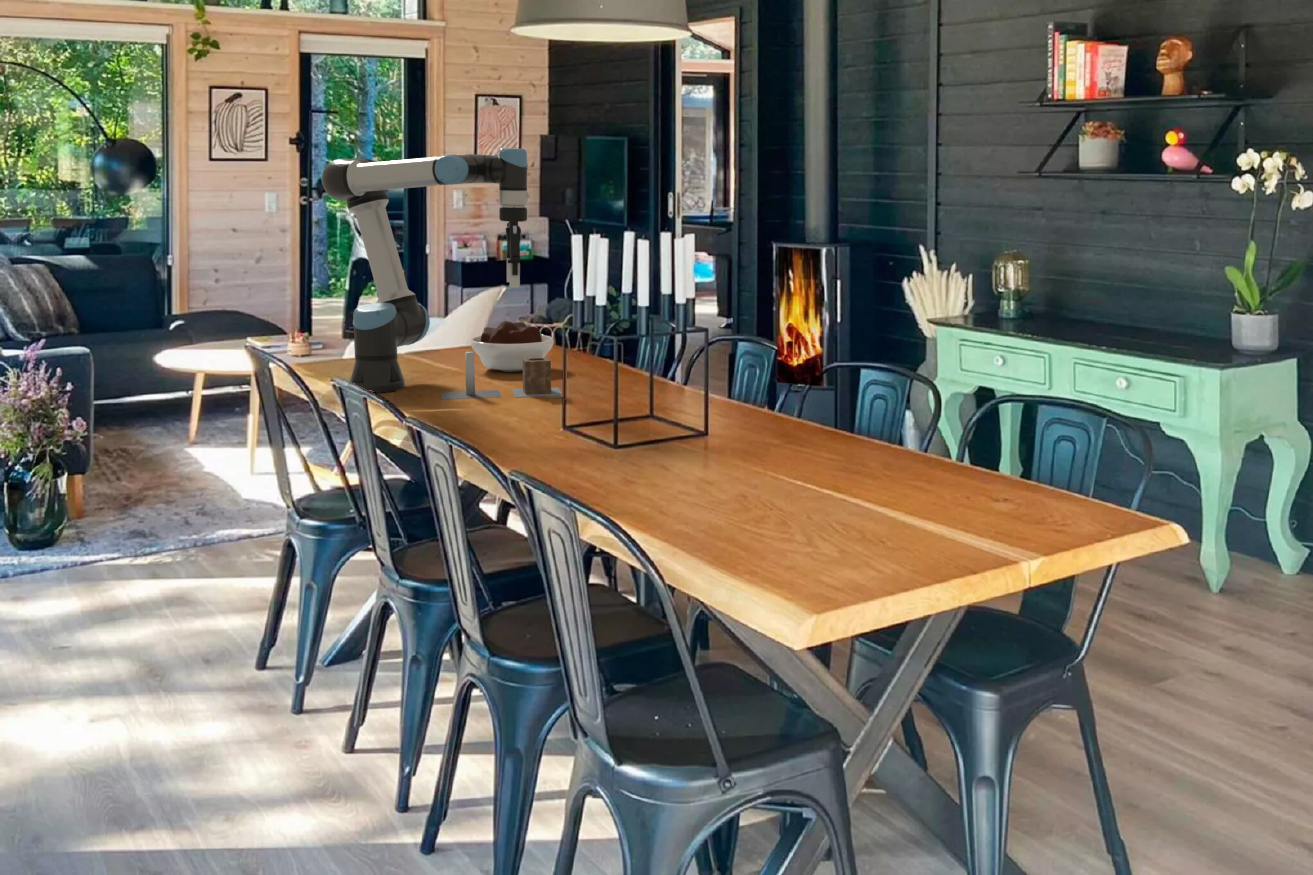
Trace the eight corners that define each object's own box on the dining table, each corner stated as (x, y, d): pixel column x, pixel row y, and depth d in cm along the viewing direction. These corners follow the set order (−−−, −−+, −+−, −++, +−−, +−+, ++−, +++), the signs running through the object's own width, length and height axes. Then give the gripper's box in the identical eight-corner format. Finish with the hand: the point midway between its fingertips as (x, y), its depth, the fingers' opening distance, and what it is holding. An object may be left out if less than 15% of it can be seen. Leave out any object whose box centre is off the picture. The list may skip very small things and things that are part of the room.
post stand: (441, 401, 375) (440, 356, 373) (440, 393, 387) (438, 350, 384) (502, 399, 378) (501, 354, 376) (498, 391, 390) (497, 348, 387)
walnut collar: (525, 394, 382) (524, 361, 380) (523, 390, 388) (522, 357, 386) (551, 393, 383) (550, 360, 381) (548, 389, 390) (547, 357, 388)
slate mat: (515, 399, 378) (515, 396, 378) (511, 391, 391) (511, 388, 391) (563, 397, 381) (563, 395, 380) (558, 389, 393) (558, 387, 393)
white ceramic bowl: (492, 362, 444) (491, 314, 441) (566, 366, 436) (565, 317, 433) (457, 374, 421) (455, 323, 418) (534, 378, 413) (533, 326, 410)
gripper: (530, 209, 371) (530, 289, 375) (524, 204, 395) (523, 280, 400) (501, 208, 370) (501, 289, 374) (497, 203, 394) (497, 279, 398)
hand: (513, 284), depth 387 cm, fingers open, 13 cm apart
